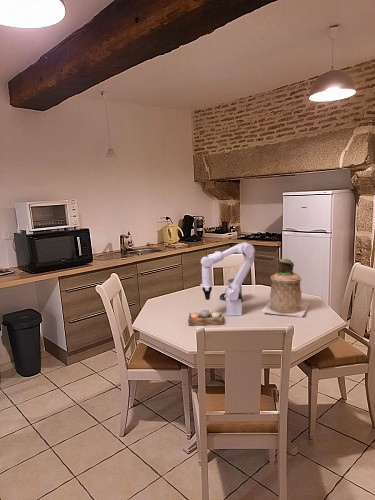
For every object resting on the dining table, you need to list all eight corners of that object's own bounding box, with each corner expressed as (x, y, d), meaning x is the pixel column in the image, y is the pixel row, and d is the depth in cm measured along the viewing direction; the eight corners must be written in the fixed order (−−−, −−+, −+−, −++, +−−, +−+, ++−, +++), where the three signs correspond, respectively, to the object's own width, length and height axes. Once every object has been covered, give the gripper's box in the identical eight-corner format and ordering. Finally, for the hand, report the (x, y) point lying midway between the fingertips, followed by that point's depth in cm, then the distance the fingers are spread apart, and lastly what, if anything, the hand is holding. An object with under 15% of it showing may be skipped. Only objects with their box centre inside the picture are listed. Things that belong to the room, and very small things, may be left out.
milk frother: (242, 303, 229) (241, 281, 227) (218, 303, 232) (217, 282, 230) (242, 297, 243) (242, 276, 241) (220, 297, 246) (219, 276, 244)
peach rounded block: (199, 318, 204) (198, 312, 203) (198, 321, 199) (198, 315, 199) (191, 318, 204) (191, 312, 204) (190, 321, 200) (190, 315, 199)
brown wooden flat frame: (221, 317, 207) (221, 312, 206) (222, 324, 195) (222, 319, 194) (189, 318, 208) (189, 313, 208) (188, 326, 196) (188, 320, 196)
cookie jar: (304, 318, 197) (304, 262, 192) (261, 314, 208) (259, 261, 203) (309, 304, 219) (308, 254, 214) (269, 301, 230) (268, 253, 225)
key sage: (219, 317, 203) (219, 311, 202) (220, 320, 198) (219, 314, 198) (212, 317, 203) (211, 312, 203) (212, 320, 199) (211, 314, 198)
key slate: (209, 315, 203) (209, 309, 203) (209, 318, 199) (209, 312, 198) (201, 316, 203) (201, 310, 203) (201, 318, 199) (200, 312, 198)
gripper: (200, 274, 214) (201, 296, 216) (199, 280, 199) (200, 303, 202) (212, 274, 213) (212, 295, 215) (212, 279, 199) (212, 303, 201)
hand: (207, 299), depth 208 cm, fingers closed
